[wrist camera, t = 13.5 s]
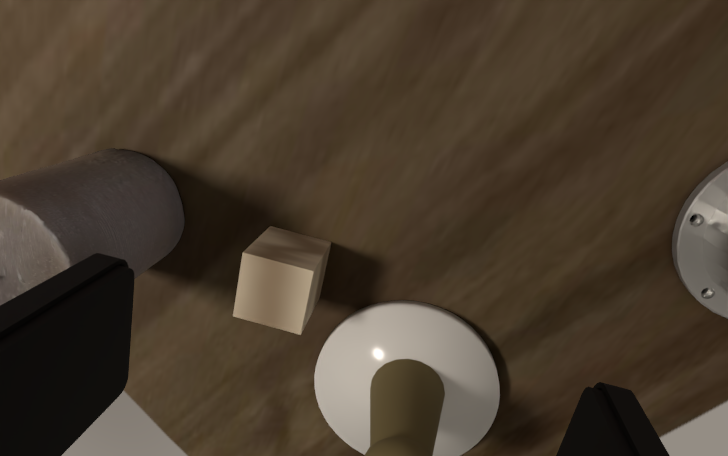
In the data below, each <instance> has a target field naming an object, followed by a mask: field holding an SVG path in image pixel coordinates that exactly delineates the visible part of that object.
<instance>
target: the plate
mask: <svg viewBox="0 0 728 456" xmlns="http://www.w3.org/2000/svg"><path fill="white" fill-rule="evenodd" d="M397 359H412V360H416V361H420V362H422V363H424V364H426V365H428V366H430V367H431V368H432V369H433V370H434V371H435V372H436V373H437V374H438V375H439V376H440V378H441V380H442V382H443V384H444V391H445V397H444V402H443V407H442V411H441V416H440V421H439V426H438V431H437V436H436V441H435V446H434V451H433V456H460V455H462V454H464V453H465V452H467V451H468V450H470V449H471V448H472V447H474V446H475V445H476V444H477V443H478V442H479V441H480V440H481V439H482V438H483V437H484V436H485V434H486V433H487V432H488V430H489V428H490V427H491V425H492V423H493V421H494V419H495V417H496V414H497V410H498V406H499V399H500V386H499V379H498V374H497V369H496V364H495V362H494V359H493V356H492V354H491V352H490V350H489V348H488V346H487V345H486V343H485V342H484V340H483V339H482V338H481V336H480V335H479V334H478V333H477V332H476V331H475V330H474V329H473V328H472V327H471V326H470V325H469V324H467V323H466V322H465V321H464V320H462V319H461V318H459V317H458V316H456V315H455V314H453V313H451V312H449V311H447V310H445V309H443V308H440V307H437V306H434V305H431V304H428V303H423V302H418V301H408V300H395V301H386V302H380V303H376V304H373V305H369V306H367V307H364V308H362V309H360V310H358V311H356V312H354V313H353V314H351V315H349V316H348V317H347V318H345V319H344V320H343V321H342V322H340V323H339V324H338V325H337V326H336V328H335V329H334V330H333V331H332V332H331V334H330V335H329V337H328V338H327V340H326V342H325V344H324V346H323V348H322V350H321V353H320V355H319V358H318V361H317V364H316V369H315V376H314V379H315V392H316V398H317V401H318V404H319V407H320V409H321V412H322V414H323V416H324V418H325V419H326V421H327V422H328V424H329V425H330V427H331V428H332V429H333V430H334V431H335V433H336V434H337V435H338V436H339V437H340V438H341V439H342V440H343V441H345V442H346V443H347V444H348V445H350V446H351V447H352V448H354V449H356V450H357V451H359V452H361V453H362V454H364V455H365V454H366V452H367V450H368V449H369V447H370V387H371V381H372V378H373V376H374V375H375V373H376V371H377V370H378V369H379V368H381V367H382V366H383V365H384V364H386V363H388V362H391V361H394V360H397Z"/></svg>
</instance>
